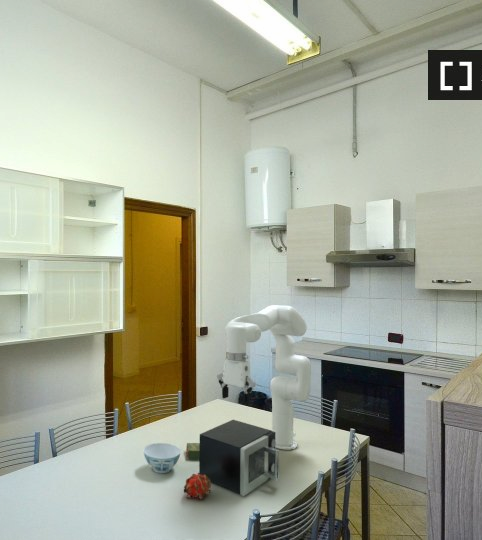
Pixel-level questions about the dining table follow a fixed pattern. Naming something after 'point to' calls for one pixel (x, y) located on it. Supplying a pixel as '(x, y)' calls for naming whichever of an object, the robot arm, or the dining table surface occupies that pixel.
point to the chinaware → (161, 456)
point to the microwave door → (256, 465)
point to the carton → (193, 451)
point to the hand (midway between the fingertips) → (235, 400)
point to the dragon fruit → (197, 486)
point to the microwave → (229, 452)
